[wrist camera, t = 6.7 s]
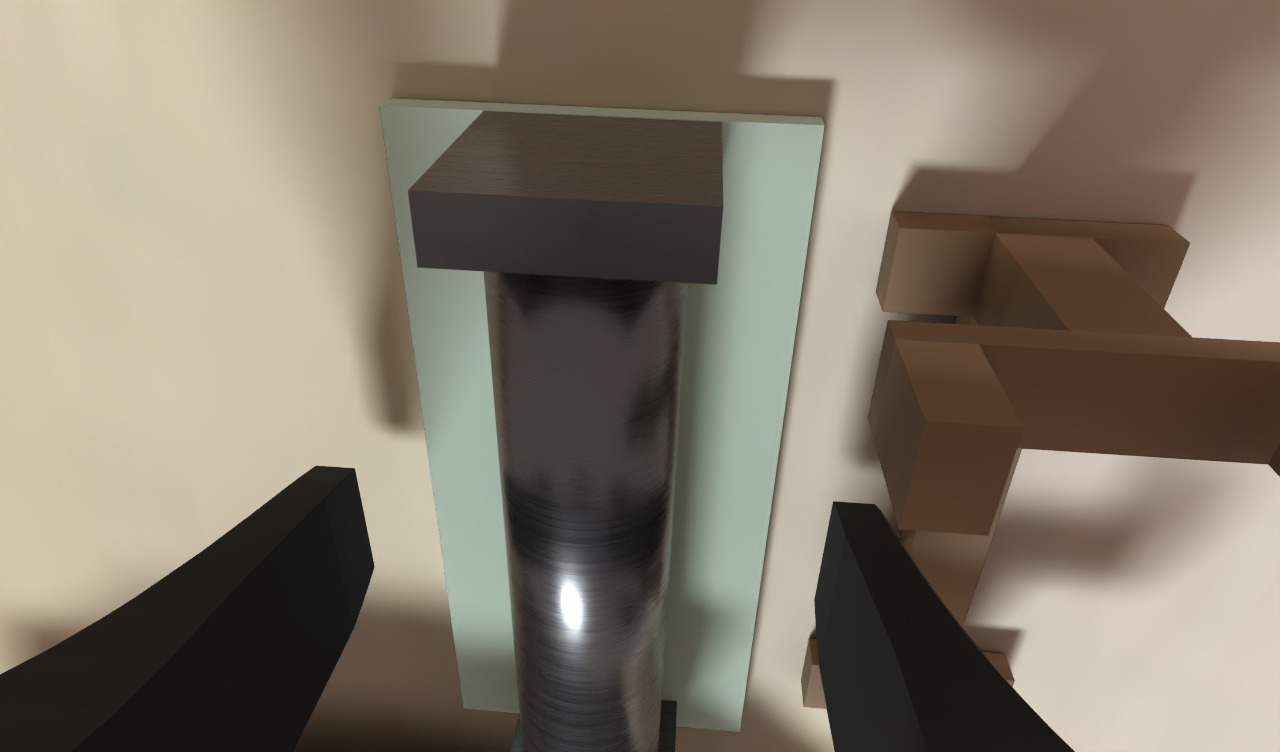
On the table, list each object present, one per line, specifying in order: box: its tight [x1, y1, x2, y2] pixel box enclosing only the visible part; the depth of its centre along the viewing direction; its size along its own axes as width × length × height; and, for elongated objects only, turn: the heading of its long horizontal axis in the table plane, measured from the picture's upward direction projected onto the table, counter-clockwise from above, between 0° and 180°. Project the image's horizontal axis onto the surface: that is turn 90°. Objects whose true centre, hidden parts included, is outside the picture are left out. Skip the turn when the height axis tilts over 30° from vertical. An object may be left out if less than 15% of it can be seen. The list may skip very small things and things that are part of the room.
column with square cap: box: [408, 111, 723, 752], centre depth 12 cm, size 12×3×3 cm, turn 178°
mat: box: [379, 98, 825, 732], centre depth 14 cm, size 12×6×1 cm, turn 179°
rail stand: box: [801, 211, 1280, 709], centre depth 11 cm, size 10×5×5 cm, turn 179°
